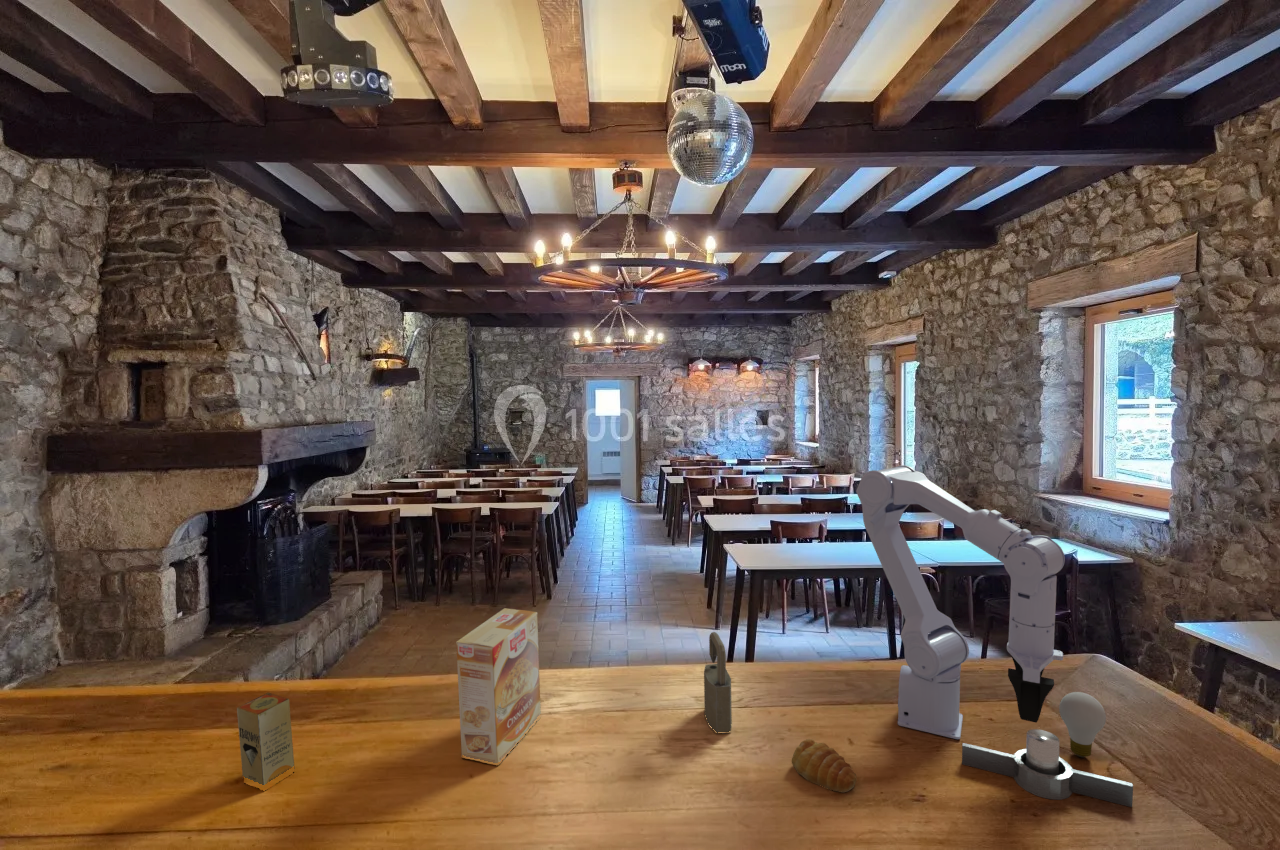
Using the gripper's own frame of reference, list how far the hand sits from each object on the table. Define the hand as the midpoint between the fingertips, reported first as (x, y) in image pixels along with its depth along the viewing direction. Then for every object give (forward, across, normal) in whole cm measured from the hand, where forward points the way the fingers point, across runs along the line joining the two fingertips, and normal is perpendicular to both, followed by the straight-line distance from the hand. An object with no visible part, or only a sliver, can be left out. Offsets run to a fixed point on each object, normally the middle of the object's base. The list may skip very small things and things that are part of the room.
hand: (1028, 707), depth 96 cm
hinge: (+9, -3, -2) cm, 10 cm away
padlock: (+10, -10, +46) cm, 48 cm away
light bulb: (+10, +7, -7) cm, 14 cm away
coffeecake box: (+10, -31, +76) cm, 82 cm away
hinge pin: (+9, -4, -2) cm, 10 cm away
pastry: (+10, -16, +26) cm, 32 cm away
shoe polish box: (+10, -56, +100) cm, 116 cm away
